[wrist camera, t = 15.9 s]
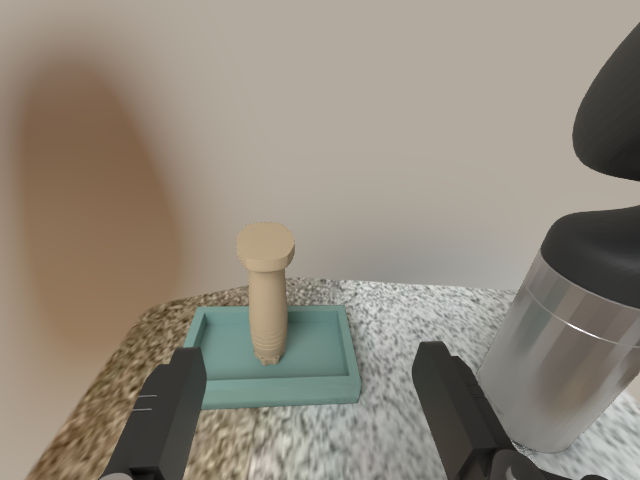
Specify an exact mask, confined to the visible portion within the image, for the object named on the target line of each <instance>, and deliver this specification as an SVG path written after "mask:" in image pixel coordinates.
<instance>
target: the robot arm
mask: <svg viewBox="0 0 640 480" xmlns="http://www.w3.org/2000/svg"><path fill="white" fill-rule="evenodd" d="M572 136H573V137H572V138H573V147H574V150H575V153H576V155H577V157H578V158H579V159H580V161H581V162H582V163H583V164H584V165H586V166H588V167H589V168H591V169H593V170H595V171H598V172H600V173H603V174H606V175H609V176H614V177H619V178H624V179H629V180H634V181H640V23H639V24H638V25H637V26H636V27H635V28H634V29H633V30H632V31H631V33H630V34H629V35H628V36H627V37H626V38H625V40H624V41H623V42H622V43H621V44H620V45H619V47H618V48H617V49H616V50H615V51H614V53H613V54H612V56H611V57H610V58H609V60H608V61H607V62H606V63H605V65H604V66H603V67H602V69H601V70H600V72H599V73H598V75H597V76H596V78H595V79H594V81H593V82H592V84H591V86H590V87H589V90H588V91H587V93H586V95H585V97H584V98H583V100H582V102H581V105H580V107H579V109H578V112H577V115H576V119H575V122H574V127H573V134H572ZM639 372H640V205H638V206H634V207H629V208H623V209H615V210H604V211H589V212H579V213H573V214H569V215H566V216H563V217H561V218H560V219H558V220H557V221H556V222H555V223H554V224H553V225H552V226H551V228H550V230H549V231H548V233H547V235H546V237H545V239H544V241H543V243H542V245H541V248H540V250H539V251H538V253H537V255H536V257H535V259H534V261H533V263H532V265H531V267H530V269H529V272H528V273H527V275H526V277H525V280H524V281H523V284H522V285H521V287H520V289H519V291H518V293H517V295H516V297H515V299H514V301H513V303H512V305H511V307H510V309H509V311H508V313H507V315H506V317H505V319H504V321H503V323H502V325H501V327H500V329H499V331H498V333H497V335H496V337H495V339H494V341H493V343H492V345H491V347H490V349H489V351H488V352H487V354H486V356H485V358H484V360H483V362H482V364H481V366H480V368H479V370H478V372H477V374H476V376H474V374H473V372H472V371H471V369H470V368H469V367H468V366H467V365H466V364H465V363H464V362H463V361H462V360H461V359H460V358H459V357H458V356H451V355H450V353H449V351H448V349H447V347H446V345H445V344H444V343H443V342H442V341H429V342H421V343H420V344H419V347H418V350H417V354H416V357H415V360H414V363H413V366H412V379H413V383H414V386H415V389H416V392H417V394H418V397H419V400H420V403H421V405H422V408H423V411H424V414H425V417H426V419H427V422H428V425H429V428H430V430H431V433H432V436H433V439H434V442H435V444H436V447H437V450H438V453H439V455H440V458H441V461H442V464H443V467H444V469H445V472H446V475H447V478H448V480H572V479H569V478H565V477H562V476H559V475H555V474H552V473H549V472H546V471H543V470H541V469H539V468H538V467H537V466H536V465H535V464H534V463H533V462H532V461H531V460H530V459H528V458H527V457H526V456H524V455H523V454H521V453H519V452H518V451H517V450H516V448H515V447H514V446H513V444H512V443H511V441H510V439H512V440H513V441H515V442H517V443H519V444H521V445H523V446H525V447H527V448H530V449H533V450H535V451H539V452H546V453H555V452H560V451H563V450H565V449H567V448H568V447H569V446H570V445H571V444H572V443H573V442H574V441H575V439H576V438H577V437H578V436H579V435H580V434H581V433H584V432H585V431H586V430H587V429H588V428H589V427H590V426H591V425H592V423H593V422H594V421H595V420H596V419H597V418H598V417H599V416H600V415H601V414H602V413H603V412H604V411H605V409H606V408H607V407H608V406H609V405H610V404H611V403H612V402H613V401H614V400H615V399H616V398H617V396H618V395H619V394H620V393H621V392H622V391H623V390H624V389H625V388H626V387H627V386H628V384H629V383H630V382H631V381H632V380H633V379H634V378H635V377H636V376H637V375H638V374H639ZM206 384H207V373H206V369H205V364H204V360H203V356H202V351H201V348H200V347H178V348H176V349H175V351H174V353H173V356H172V358H171V361H170V363H169V364H162V365H158V366H157V367H156V368H155V370H154V371H153V372H152V373H151V374H150V375H149V376H148V377H147V379H146V380H145V383H144V385H143V387H142V389H141V392H140V394H139V398H137V401H136V403H135V405H134V407H133V411H132V412H131V414H130V416H129V418H128V421H127V423H126V425H125V427H124V430H123V432H122V434H121V436H120V438H119V441H118V443H117V445H116V447H115V450H114V452H113V454H112V456H111V459H110V461H109V463H108V465H107V467H106V469H105V471H104V472H103V474H102V475H101V476H100V478H99V479H98V480H182V479H183V476H184V472H185V468H186V464H187V460H188V456H189V452H190V449H191V445H192V441H193V437H194V433H195V429H196V425H197V421H198V418H199V414H200V410H201V406H202V402H203V398H204V394H205V390H206ZM509 438H510V439H509ZM581 480H608V479H606V478H604V477H601V476H598V475H586V476H584V477H583V478H582V479H581Z"/></svg>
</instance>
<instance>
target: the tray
mask: <svg viewBox="0 0 640 480" xmlns="http://www.w3.org/2000/svg"><path fill="white" fill-rule="evenodd" d="M287 313H288V322H287V337H286V343H285V352H284V355H283V356H281V357H280V359H279V363H278V364H276V365H274V364H270V365H267V366H264V365H262V364H261V361H260V360H259V359H258V358H256V357H255V354H254V347H253V344H252V339H251V333H250V324H249V306H233V307H197V310H196V313H195V315H194V318H193V321H192V324H191V326H190V329H189V332H188V334H187V337H186V340H185V342H184V345H183V347H200V348H201V351H202V356H203V360H204V364H205V369H206V373H207V384H206V390H205V394H204V398H203V402H202V406H201V410H211V409H233V408H255V407H277V406H299V405H322V404H344V403H358V399H359V395H360V390H361V385H362V384H361V380H360V375H359V370H358V366H357V361H356V356H355V352H354V347H353V343H352V338H351V333H350V329H349V324H348V319H347V315H346V310H345V305H315V306H287Z"/></svg>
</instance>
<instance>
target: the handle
mask: <svg viewBox="0 0 640 480" xmlns="http://www.w3.org/2000/svg"><path fill="white" fill-rule="evenodd" d="M294 248H295V245H294V237H293V234H292V232H291V231H290V230H289V229H287V228H286V227H285V226H284V225H283V224H279V223H272V222H261V223H254V224H250V225H247V226H246V227H245V228H244V229H243V230H242V231H241V232H240V233H239V234H238V237H237V255H238V258H239V260H240V262H241V263H242V265H243V266H244V267H245V268H246V269H248V270H249V324H250V333H251V339H252V344H253V347H254V354H255V357H256V358H258V359H259V360H260V361H261V364H262V365H264V366H267V365H270V364H274V365H276V364H278V363H279V359H280V357H281V356H283V355H284V352H285V343H286V337H287V322H288V313H287V299H286V284H285V268H286V267H287V266H288V265H289V264H290V263H291V261H292V259H293V256H294Z"/></svg>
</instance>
